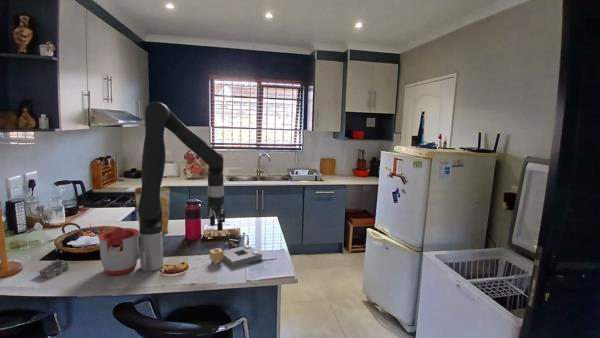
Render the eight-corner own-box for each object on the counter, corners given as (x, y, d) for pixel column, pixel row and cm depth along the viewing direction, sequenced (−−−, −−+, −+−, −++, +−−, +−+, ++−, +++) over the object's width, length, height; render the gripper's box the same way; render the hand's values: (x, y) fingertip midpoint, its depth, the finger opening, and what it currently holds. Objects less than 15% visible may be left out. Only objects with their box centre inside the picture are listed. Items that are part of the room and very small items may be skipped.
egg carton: (59, 266, 146) (58, 258, 145) (73, 268, 144) (72, 260, 144) (35, 277, 135) (35, 268, 135) (50, 279, 134) (49, 270, 133)
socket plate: (232, 267, 149) (232, 260, 149) (219, 257, 160) (219, 250, 160) (261, 259, 159) (261, 252, 159) (248, 250, 170) (248, 243, 169)
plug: (213, 265, 151) (213, 251, 150) (209, 262, 154) (209, 248, 153) (223, 263, 154) (223, 249, 153) (219, 260, 157) (219, 246, 156)
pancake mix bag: (138, 232, 192) (136, 186, 188) (171, 230, 197) (170, 186, 193) (135, 236, 186) (132, 188, 182) (169, 234, 190) (168, 188, 186)
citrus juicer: (94, 281, 133) (91, 235, 130) (106, 263, 149) (104, 222, 146) (135, 277, 137) (133, 233, 134) (143, 260, 154) (141, 220, 151)
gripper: (202, 192, 152) (202, 225, 155) (214, 198, 141) (214, 233, 144) (217, 190, 157) (217, 222, 159) (230, 196, 146) (230, 230, 148)
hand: (216, 227), depth 151 cm, fingers open, 8 cm apart
